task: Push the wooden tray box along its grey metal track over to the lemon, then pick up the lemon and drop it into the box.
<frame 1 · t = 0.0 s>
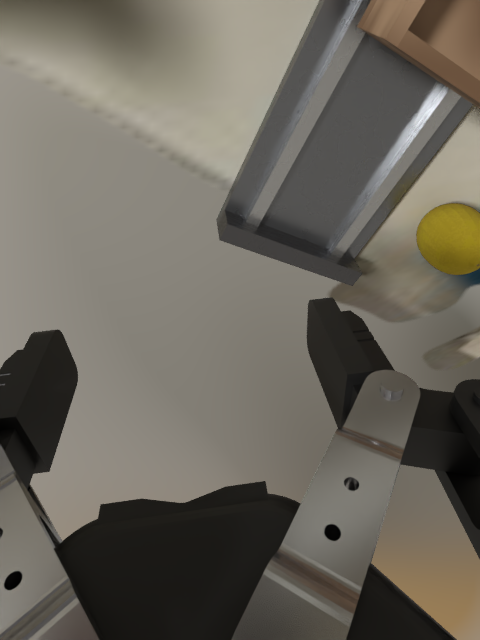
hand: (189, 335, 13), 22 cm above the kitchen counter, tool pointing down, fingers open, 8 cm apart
lemon: (430, 215, 38), on the kitchen counter
track: (375, 94, 29), on the kitchen counter
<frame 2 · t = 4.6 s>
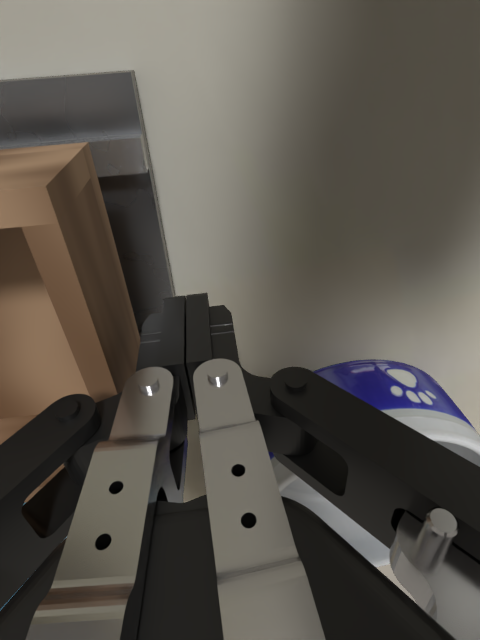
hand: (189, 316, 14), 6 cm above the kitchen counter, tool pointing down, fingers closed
dog bowl: (341, 433, 28), on the kitchen counter
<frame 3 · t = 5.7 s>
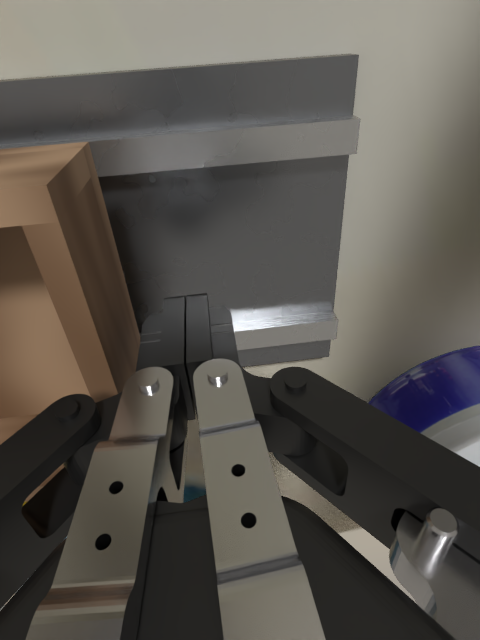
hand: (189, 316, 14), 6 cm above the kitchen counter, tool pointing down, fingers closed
track: (32, 262, 18), on the kitchen counter
dog bowl: (446, 420, 29), on the kitchen counter
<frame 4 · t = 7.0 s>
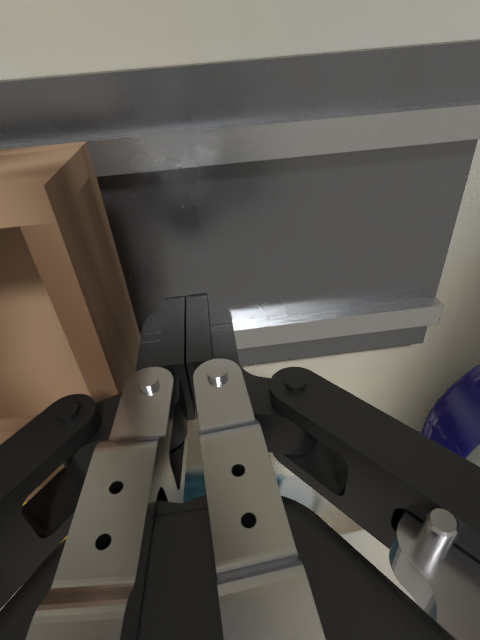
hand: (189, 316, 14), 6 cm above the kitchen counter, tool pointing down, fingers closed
track: (151, 249, 18), on the kitchen counter
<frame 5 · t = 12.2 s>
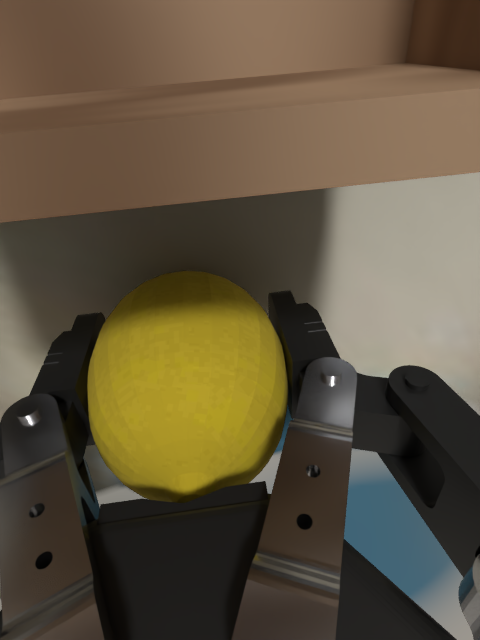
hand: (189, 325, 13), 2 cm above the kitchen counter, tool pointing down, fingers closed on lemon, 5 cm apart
lemon: (189, 297, 15), on the kitchen counter, touching gripper
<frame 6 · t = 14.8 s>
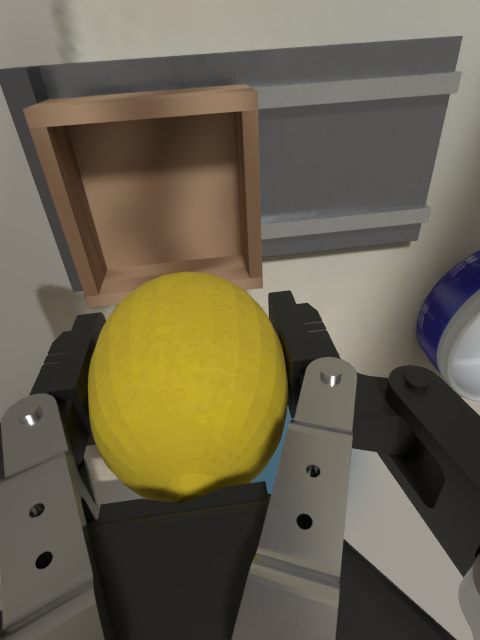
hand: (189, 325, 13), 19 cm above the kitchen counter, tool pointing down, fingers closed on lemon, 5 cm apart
wooden tray box: (164, 195, 24), point 5 cm above the kitchen counter, slide at 14.0 cm
lemon: (189, 298, 15), point 17 cm above the kitchen counter, touching gripper
track: (248, 166, 29), on the kitchen counter
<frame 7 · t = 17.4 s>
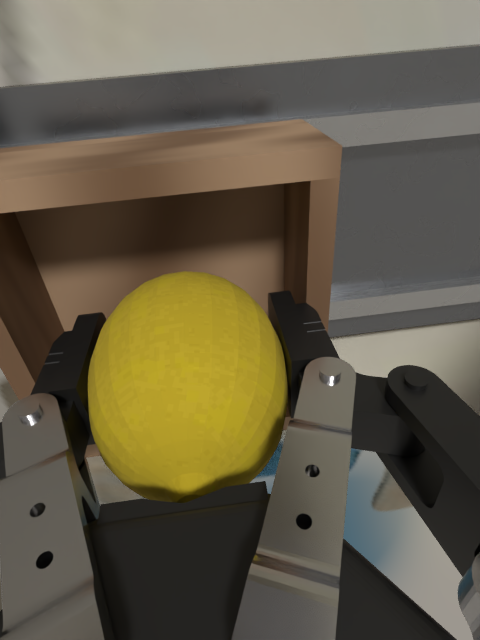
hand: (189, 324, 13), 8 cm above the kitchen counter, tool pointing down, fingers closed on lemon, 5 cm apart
wooden tray box: (169, 290, 16), point 5 cm above the kitchen counter, slide at 14.0 cm, touching gripper
lemon: (189, 298, 15), point 6 cm above the kitchen counter, touching gripper
track: (289, 224, 20), on the kitchen counter
when the fingers open (8 cm above the kitchen counter, at t = 17.5 s): lemon drops 1 cm, resting on wooden tray box.
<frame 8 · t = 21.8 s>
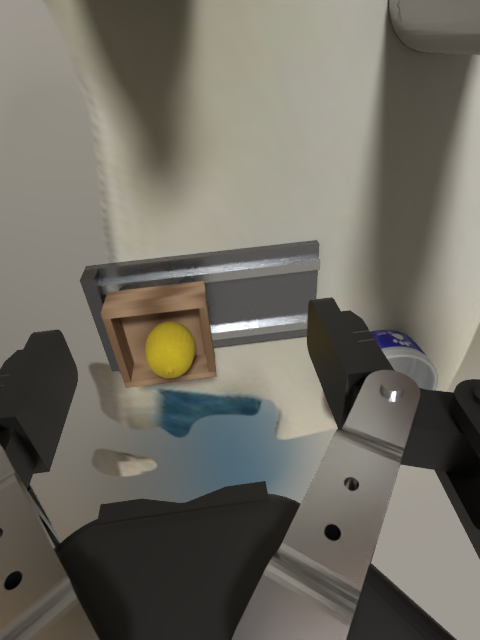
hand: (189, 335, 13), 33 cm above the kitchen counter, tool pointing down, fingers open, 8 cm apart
wooden tray box: (164, 330, 47), point 5 cm above the kitchen counter, slide at 13.7 cm, touching lemon
lemon: (171, 326, 47), point 5 cm above the kitchen counter, touching wooden tray box
track: (209, 301, 51), on the kitchen counter
dog bowl: (371, 366, 62), on the kitchen counter
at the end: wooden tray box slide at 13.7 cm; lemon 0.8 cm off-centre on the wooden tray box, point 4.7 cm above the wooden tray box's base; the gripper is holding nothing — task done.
